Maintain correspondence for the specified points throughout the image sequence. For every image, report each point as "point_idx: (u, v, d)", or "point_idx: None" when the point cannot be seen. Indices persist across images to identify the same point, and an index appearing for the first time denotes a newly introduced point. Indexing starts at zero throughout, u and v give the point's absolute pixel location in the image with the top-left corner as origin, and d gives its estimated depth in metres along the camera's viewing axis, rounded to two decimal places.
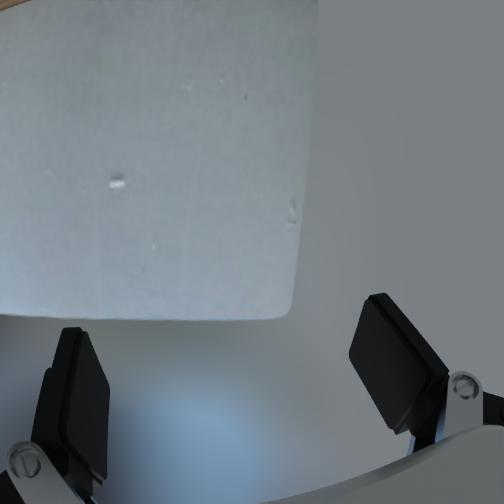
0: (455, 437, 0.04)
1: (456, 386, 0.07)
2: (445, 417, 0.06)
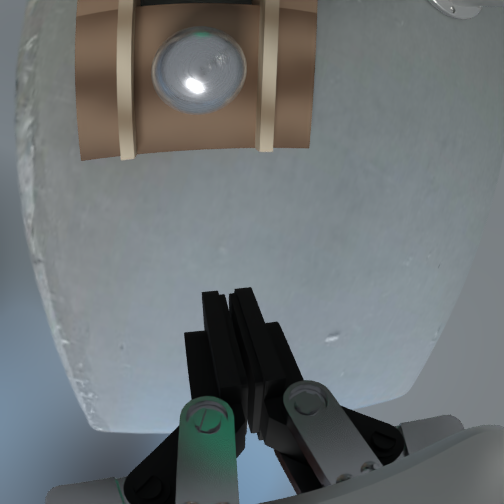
0: (455, 437, 0.04)
1: (297, 405, 0.07)
2: (309, 449, 0.06)
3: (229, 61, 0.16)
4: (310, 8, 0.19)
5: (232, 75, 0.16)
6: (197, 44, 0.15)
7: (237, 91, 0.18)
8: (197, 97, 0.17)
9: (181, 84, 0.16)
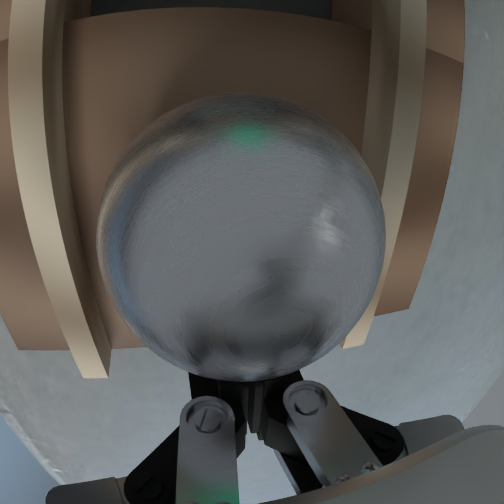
0: (455, 438, 0.04)
1: (297, 405, 0.07)
2: (309, 449, 0.06)
3: (368, 277, 0.05)
4: (454, 50, 0.08)
5: (363, 310, 0.05)
6: (262, 223, 0.04)
7: None
8: (253, 380, 0.06)
9: (202, 365, 0.05)
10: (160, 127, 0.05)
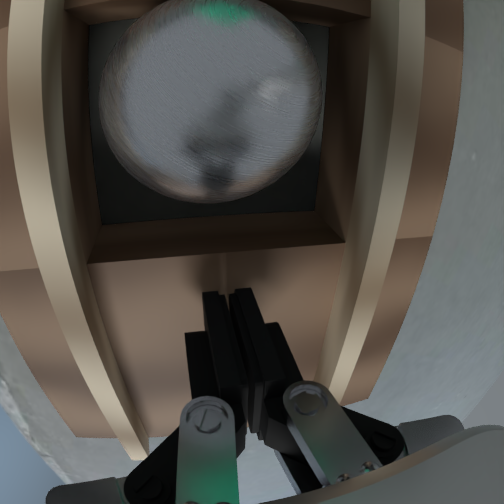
0: (455, 438, 0.04)
1: (297, 405, 0.07)
2: (309, 449, 0.06)
3: None
4: (424, 229, 0.12)
5: None
6: None
7: None
8: None
9: None
10: (203, 202, 0.08)
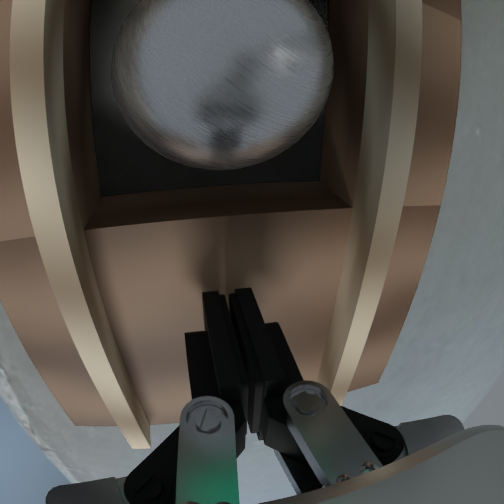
0: (455, 437, 0.04)
1: (297, 405, 0.07)
2: (309, 449, 0.06)
3: None
4: (432, 197, 0.12)
5: None
6: None
7: None
8: None
9: None
10: (221, 169, 0.08)
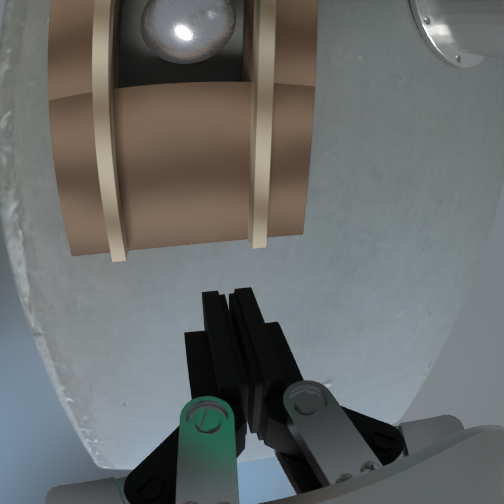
0: (455, 437, 0.04)
1: (297, 405, 0.07)
2: (309, 449, 0.06)
3: None
4: (307, 80, 0.20)
5: None
6: None
7: None
8: None
9: None
10: (186, 60, 0.17)
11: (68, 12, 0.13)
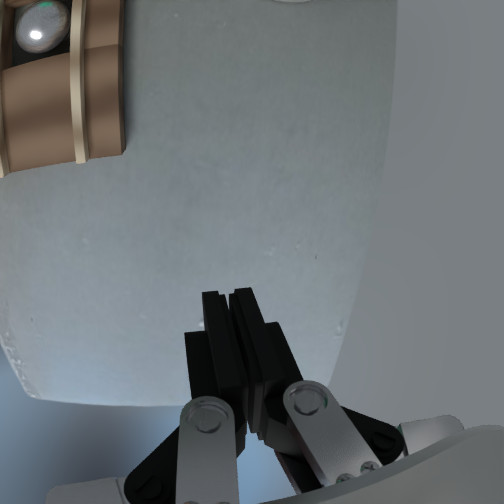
0: (455, 437, 0.04)
1: (297, 405, 0.07)
2: (309, 449, 0.06)
3: None
4: (112, 41, 0.24)
5: None
6: None
7: None
8: None
9: None
10: (41, 52, 0.22)
11: None
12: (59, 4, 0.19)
